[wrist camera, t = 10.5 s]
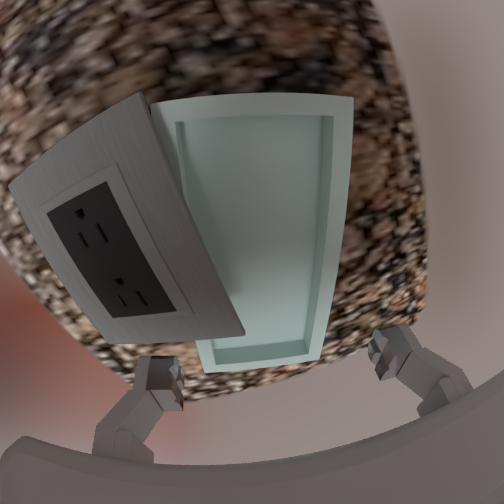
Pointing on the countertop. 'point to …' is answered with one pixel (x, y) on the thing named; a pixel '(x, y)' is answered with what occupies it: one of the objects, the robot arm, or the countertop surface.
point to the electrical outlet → (124, 232)
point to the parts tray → (265, 212)
